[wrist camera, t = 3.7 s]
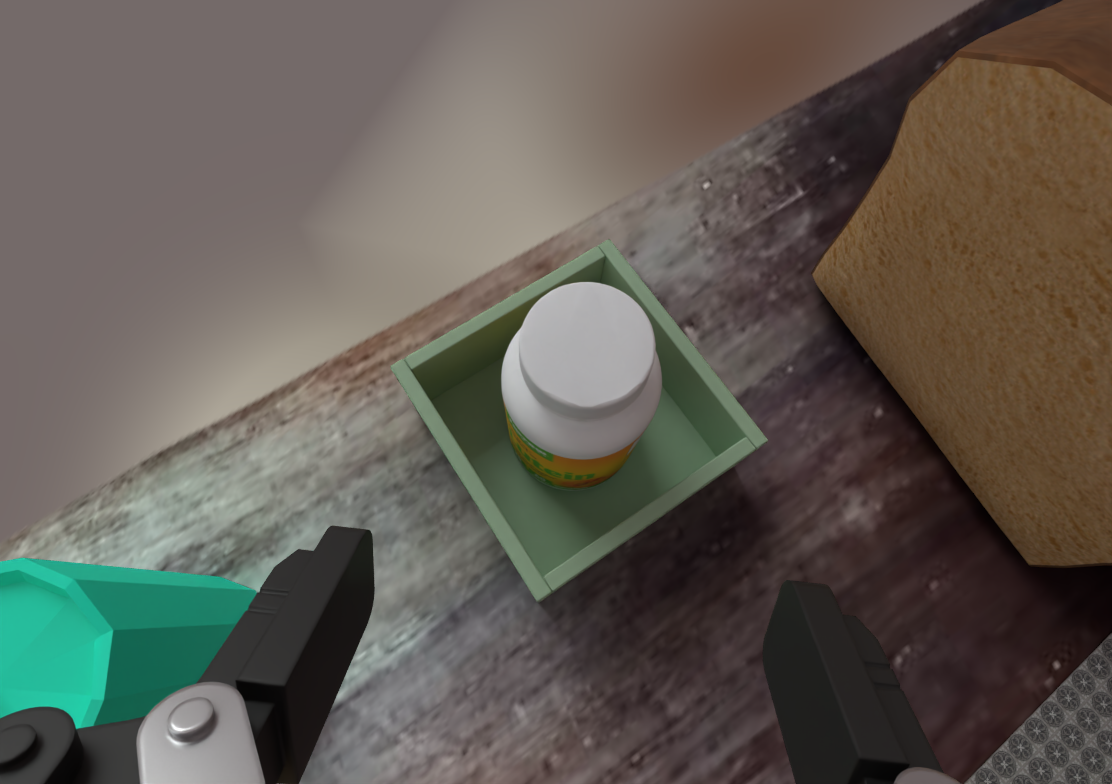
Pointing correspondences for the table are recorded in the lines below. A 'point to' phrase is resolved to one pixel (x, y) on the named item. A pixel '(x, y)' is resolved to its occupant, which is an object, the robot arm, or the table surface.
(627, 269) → the basket
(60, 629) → the candle
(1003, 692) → the table surface
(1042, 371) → the bread
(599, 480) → the supplement bottle
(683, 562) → the table surface
